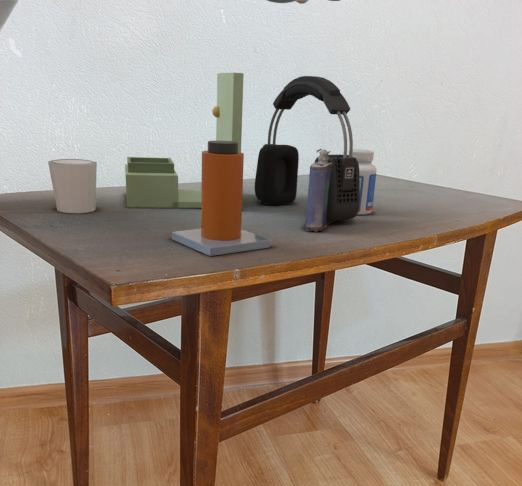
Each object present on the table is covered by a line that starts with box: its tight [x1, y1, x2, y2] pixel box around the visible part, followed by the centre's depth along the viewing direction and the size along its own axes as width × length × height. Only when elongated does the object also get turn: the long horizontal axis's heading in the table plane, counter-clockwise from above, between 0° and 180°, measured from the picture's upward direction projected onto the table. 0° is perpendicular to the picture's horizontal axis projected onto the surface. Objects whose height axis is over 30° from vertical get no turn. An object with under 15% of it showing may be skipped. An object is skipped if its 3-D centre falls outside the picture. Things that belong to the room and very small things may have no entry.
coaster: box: [171, 228, 272, 257], centre depth 75 cm, size 9×9×1 cm
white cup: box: [47, 158, 98, 214], centre depth 88 cm, size 7×7×7 cm
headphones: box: [254, 75, 360, 223], centre depth 92 cm, size 22×6×20 cm, turn 32°
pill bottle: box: [352, 148, 377, 216], centre depth 96 cm, size 6×5×10 cm
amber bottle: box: [200, 140, 245, 241], centre depth 72 cm, size 5×5×11 cm
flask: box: [304, 148, 333, 233], centre depth 85 cm, size 9×3×11 cm, turn 159°
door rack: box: [124, 72, 245, 209], centre depth 96 cm, size 18×16×20 cm
